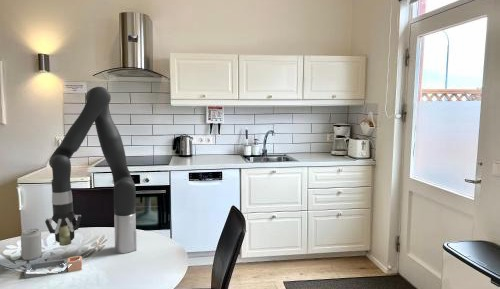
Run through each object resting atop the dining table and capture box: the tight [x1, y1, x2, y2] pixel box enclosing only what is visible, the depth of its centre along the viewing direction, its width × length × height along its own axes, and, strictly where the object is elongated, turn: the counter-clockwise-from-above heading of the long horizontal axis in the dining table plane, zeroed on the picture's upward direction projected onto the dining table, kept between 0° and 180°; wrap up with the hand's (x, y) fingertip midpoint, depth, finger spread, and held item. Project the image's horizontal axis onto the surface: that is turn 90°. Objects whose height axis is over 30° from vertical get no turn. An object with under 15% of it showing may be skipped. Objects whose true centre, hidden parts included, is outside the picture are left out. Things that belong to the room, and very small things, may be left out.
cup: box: [67, 255, 83, 273], centre depth 144 cm, size 5×5×4 cm
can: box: [20, 228, 43, 261], centre depth 153 cm, size 8×8×12 cm
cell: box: [58, 225, 72, 247], centre depth 150 cm, size 4×4×9 cm
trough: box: [24, 258, 68, 279], centre depth 142 cm, size 14×9×2 cm, turn 114°
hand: (65, 240), depth 150 cm, fingers closed on cell, 4 cm apart
